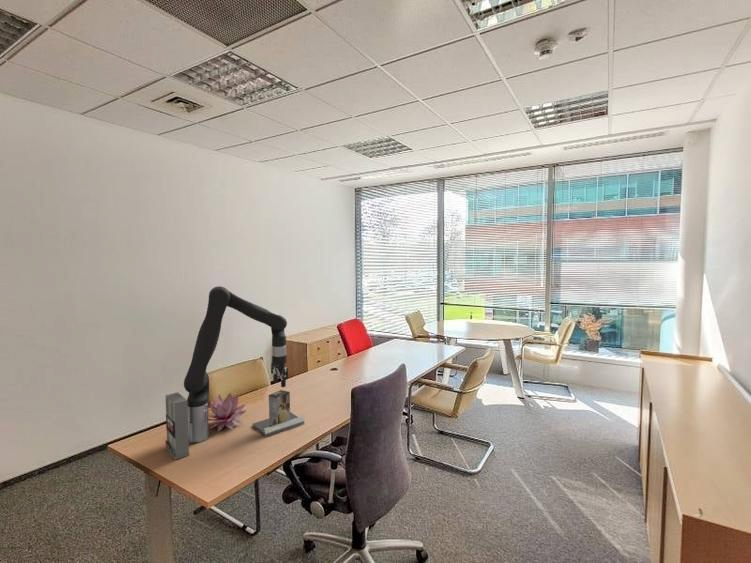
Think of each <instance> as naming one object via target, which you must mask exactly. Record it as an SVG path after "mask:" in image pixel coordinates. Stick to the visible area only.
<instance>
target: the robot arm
mask: <svg viewBox="0 0 751 563" xmlns="http://www.w3.org/2000/svg"><path fill="white" fill-rule="evenodd" d="M227 308H230V309H233V310H236V311H238V312H239V313H241V314H243V315H245V317H248V318H249V319H252V320H254V321H256V322H259V323H261V324H264V325H266V326H269V328H270V329H271V363H270V373H271V375H272V377H273V378H272V379H273V381H272V382H273V384H277V383H278V382H279V377H280V387H281V388H285V387H286V380H289V369H288V368H289V367H285V364H286V363H287V361H288V360H287V357H288V356H287V353H288V351H287V336H286V334H285V329H286V328H287V325H288V322H287V318H285V317H284V316H282V315H281V314H276V313H273V312H271V311H269V310H268V309H267V308H264V307H262V306H260V305H257V304H255V303H253V302H251V301H248V300H245V299H243V298H241V297H240V296H238V295H236V294H235V293H233V292H231V290H230V291H229V290H228V289H227V288H225V286H224V287H223V286H221V285H220V286H214V287H213V288H211V290H210V291H209V292H208V302H207V308H206V314H205V317H204V319H203V321H202V322H201V323H202V324H201V326H200V328H199V331H198V334H197V338H196V340H195V344H194V345H195V346H194V349H193V353H192V358H191V362H190V365H189V367H188V369H187V370H188V371H187V373H186V374H185V378H184V380H183V387H184V390H185V391H186V392H187V393H188V395H187V398H186V400H188V437H189V444H194V443H195V444H196V443H201V442H204V441H206V440H207V439H209V435H210V434H209V433H210V432H209V428H210V427H209V424H208V423H209V420H208V419H209V416H208V413H209V396H210V376H209V373H208V372H207V367H208V365H209V363H210V361H211V359H212V357H213V355H214V352H215V350H216V349H217V345H218V342H219V338H220V333H221V330H222V329H221V327H222V322H223V318H224V314H225V311H226V309H227Z"/></svg>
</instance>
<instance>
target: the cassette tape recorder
mask: <svg viewBox="0 0 751 563" xmlns="http://www.w3.org/2000/svg"><path fill="white" fill-rule="evenodd" d="M165 430H166V439H165V442H164V443H165V449H166V450H167V452H168V453H169V454H170V456H171V457H172V458H173V459H174V461H175V460H176V461H177V460H179V459H182V458H184V457H186V456H187V457H188V456H190V443H189V437H188V400H187V398H185V397H184V395H182V394H180V393H179V392H173V393H169V394H165Z"/></svg>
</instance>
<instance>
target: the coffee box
mask: <svg viewBox="0 0 751 563" xmlns="http://www.w3.org/2000/svg"><path fill="white" fill-rule="evenodd" d="M290 400H291V398H290V391H287V390H283V389H280V390H277V391H275V392H273V393H271V394H268V415H269V416H268V417H269V418H268V419H269V425H271V426H273V425H276V424H279V423H282V422H285V421H289V420H290V412H291V401H290Z"/></svg>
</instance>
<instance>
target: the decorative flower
mask: <svg viewBox="0 0 751 563" xmlns="http://www.w3.org/2000/svg"><path fill="white" fill-rule="evenodd" d="M215 403H216V404H214V402H213V401H212V399H210V401H209V407H210V410H211V412H212V414H211V413H209V412H208V421H212V422H208V425H211V426H210V427H209V429H213V428H214V427H216V429H217V431H218V432H220V431H221V430H223V429H224V427H226V428H227V429H231V430H232V429H234V425H238V424H242V422H241V421H239V420H240V419H241V416H242V415H243V414H245V413H246V412H247V410H246V409H245V410H243V409H244V408H245V404H242V405H240V406H238V404H239V393H237V394H236V395H235V397H233V396H232V393H231V392H229V393H228V395H226V398H225V399H224V400H223V399H222V397H221V394H220V393H219V394H218V395H217V398H216V401H215ZM213 414H214V415H213ZM209 417H210V418H209ZM212 418H213V419H212ZM212 424H213V425H212Z"/></svg>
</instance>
